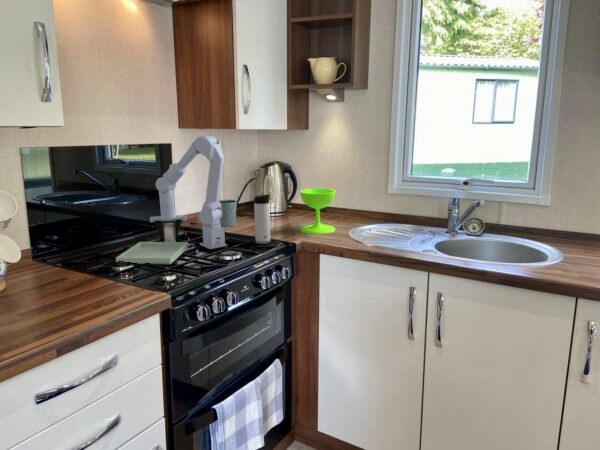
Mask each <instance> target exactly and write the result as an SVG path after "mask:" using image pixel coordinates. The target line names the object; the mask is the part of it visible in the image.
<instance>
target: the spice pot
mask: <svg viewBox="0 0 600 450" xmlns="http://www.w3.org/2000/svg"><path fill="white" fill-rule="evenodd" d="M163 233H164V238H163V239H164V242H177V241H176V230H175V222H174V223H173V222H167V223H166V222H165V223H163Z"/></svg>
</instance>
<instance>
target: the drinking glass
mask: <svg viewBox="0 0 600 450" xmlns="http://www.w3.org/2000/svg"><path fill="white" fill-rule="evenodd" d="M219 202H220V203H221V210H222V217H221V219H220V226H221V227H230V228H234V227H236V224H237V222H236V221H237V219H236V218H237V205H238V204H237V203H238V202H237V200H235V199H219Z"/></svg>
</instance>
